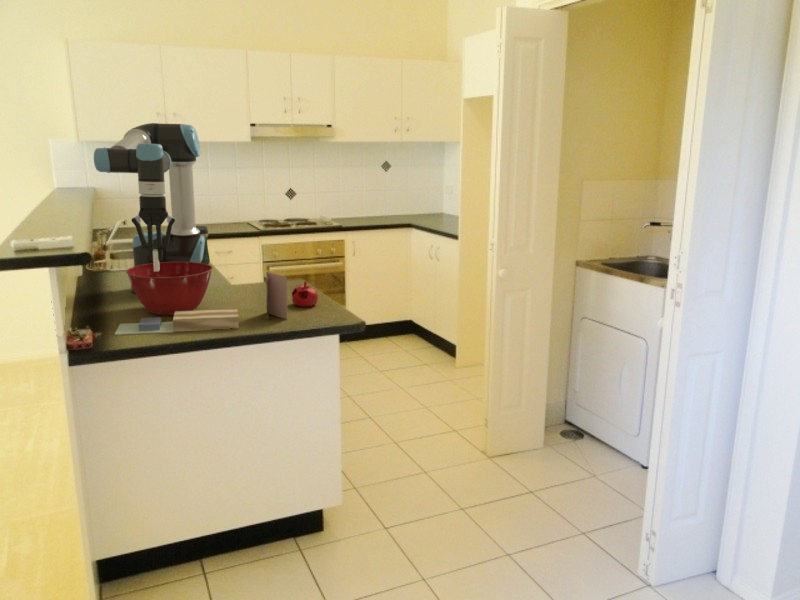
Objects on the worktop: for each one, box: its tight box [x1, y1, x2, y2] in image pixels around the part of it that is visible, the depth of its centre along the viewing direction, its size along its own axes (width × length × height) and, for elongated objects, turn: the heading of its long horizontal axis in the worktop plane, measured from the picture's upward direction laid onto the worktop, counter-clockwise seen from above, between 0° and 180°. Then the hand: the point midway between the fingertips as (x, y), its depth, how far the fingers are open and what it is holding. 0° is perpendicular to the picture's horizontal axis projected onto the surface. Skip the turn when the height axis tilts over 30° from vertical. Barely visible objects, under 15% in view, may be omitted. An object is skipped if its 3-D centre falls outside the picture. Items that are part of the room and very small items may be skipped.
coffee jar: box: [196, 225, 211, 265], centre depth 305 cm, size 10×8×19 cm
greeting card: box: [263, 271, 288, 320], centre depth 218 cm, size 11×7×15 cm, turn 13°
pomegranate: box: [291, 280, 319, 308], centre depth 236 cm, size 10×10×9 cm
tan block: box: [172, 308, 240, 333], centre depth 206 cm, size 10×20×4 cm, turn 106°
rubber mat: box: [114, 321, 175, 336], centre depth 201 cm, size 11×17×1 cm, turn 106°
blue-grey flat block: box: [138, 316, 162, 331], centre depth 201 cm, size 8×6×2 cm
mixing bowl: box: [125, 262, 213, 317], centre depth 221 cm, size 28×28×16 cm
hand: (156, 270), depth 199 cm, fingers closed
